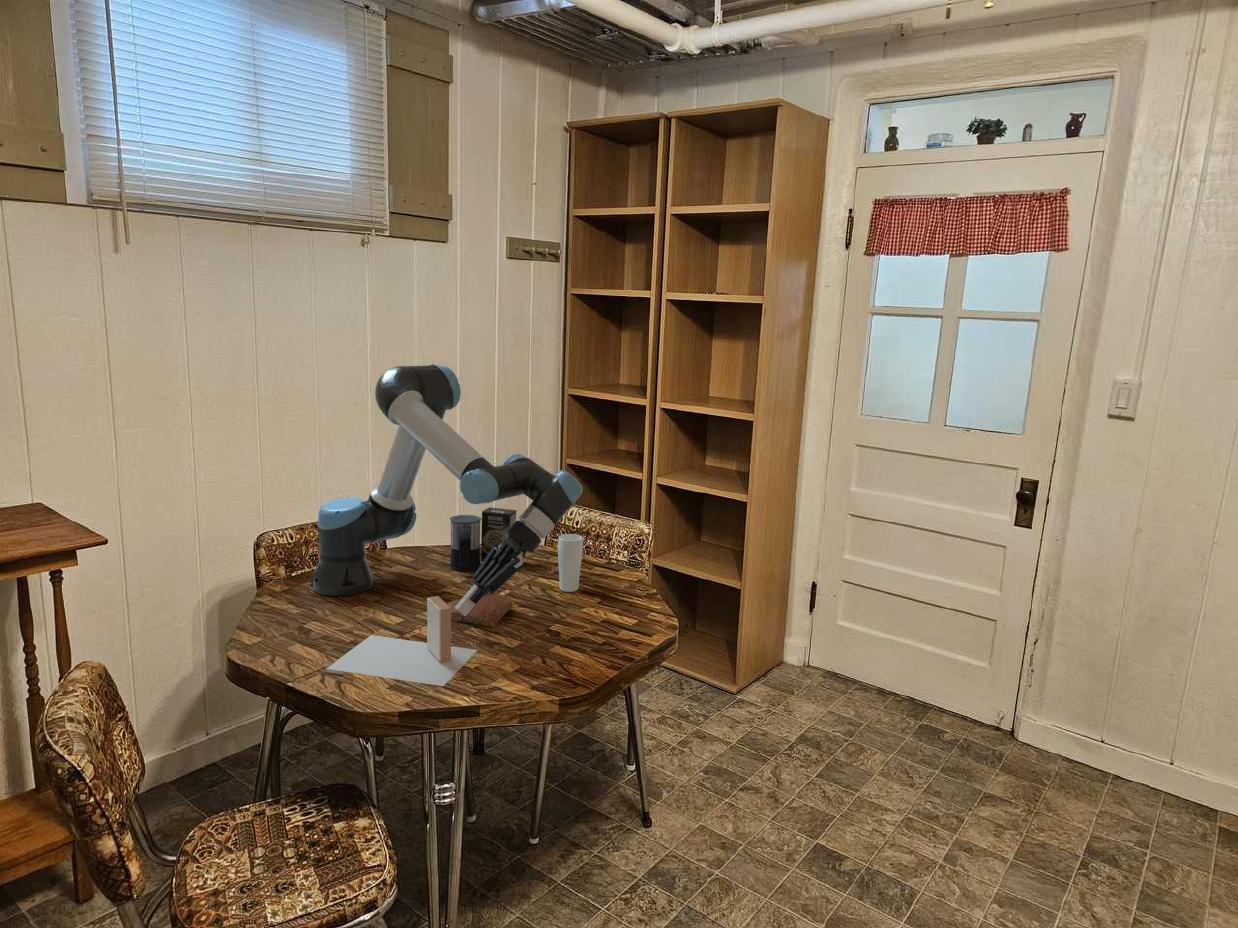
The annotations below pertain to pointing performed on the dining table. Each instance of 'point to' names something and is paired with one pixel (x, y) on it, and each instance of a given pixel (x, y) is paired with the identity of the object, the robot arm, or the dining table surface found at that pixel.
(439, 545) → the dining table surface
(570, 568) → the drinking glass
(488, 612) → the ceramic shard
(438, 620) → the terracotta tile
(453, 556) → the milk frother
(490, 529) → the dark cardboard box
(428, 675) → the grey mat
